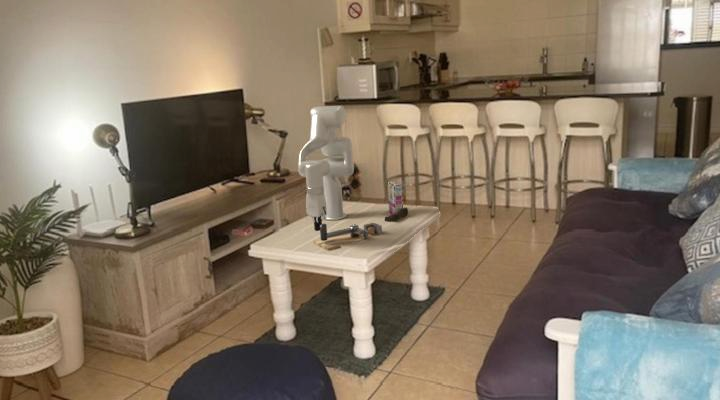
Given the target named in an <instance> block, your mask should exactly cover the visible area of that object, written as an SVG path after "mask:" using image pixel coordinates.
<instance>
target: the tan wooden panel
mask: <svg viewBox="0 0 720 400" xmlns="http://www.w3.org/2000/svg"><path fill="white" fill-rule="evenodd" d="M382 225H383V224H382ZM382 225H381V224H378V223H375V222H371V223H367V224H366V223H365V224H363V230H366V231H367V230H368V228H369V227H374V228H375V233H374V234H372V235H371V234H369V233H368V236H369V238H375V237H379V236H382V235H384V233H383V228H382V227H383V226H382ZM369 238H368V239H369ZM327 239H328V240H325V241H322V240H321V239H317V240H314V241H313V244H314V245H315V246H318V247H320V248H321V249H323V250H326V251H330V250H335V249H339V248H342V245H346V244H349V243H354V242H357V241H362V240H366V238H364V237H363V234H361V235H359V236H357V237H351V236H350V233H348V234H344V235H339V236H335V237H331V238H327Z"/></svg>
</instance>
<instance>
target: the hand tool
mask: <svg viewBox="0 0 720 400" xmlns="http://www.w3.org/2000/svg"><path fill="white" fill-rule="evenodd" d="M408 215H409V209H408V207H403V208H402V209H400V211H399V212H397V213H395V214H391V215H390V214H389V215H388V216H385V217H384V222H387V223H391V222H396V221H397V220H399V219H401V218H404V217H405V218H406V217H407V216H408Z"/></svg>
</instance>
